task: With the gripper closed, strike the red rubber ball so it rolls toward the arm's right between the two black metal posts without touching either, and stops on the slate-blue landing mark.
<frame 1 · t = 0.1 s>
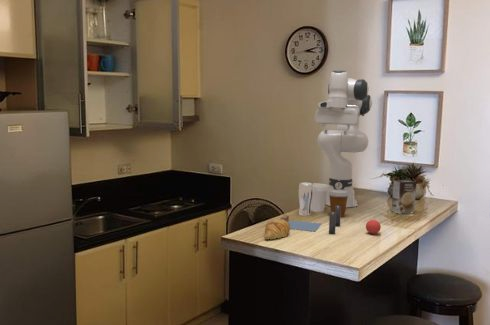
hand: (335, 134, 242), 39 cm above the worktop, tool pointing down, fingers open, 8 cm apart
foam cup: (317, 211, 255), on the worktop
post 2: (337, 225, 227), on the worktop
ball: (373, 226, 215), on the worktop
post 1: (331, 233, 214), on the worktop
coffee box: (402, 213, 255), on the worktop
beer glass: (305, 214, 247), on the worktop
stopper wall: (282, 223, 228), on the worktop
disposable coffee cup: (337, 216, 246), on the worktop
croissant: (276, 235, 211), on the worktop
landing mark: (302, 226, 225), on the worktop
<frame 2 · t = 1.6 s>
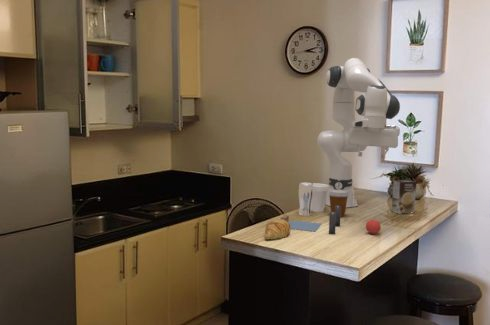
hand: (371, 157, 214), 32 cm above the worktop, tool pointing down, fingers open, 8 cm apart
nothing on the worktop moved.
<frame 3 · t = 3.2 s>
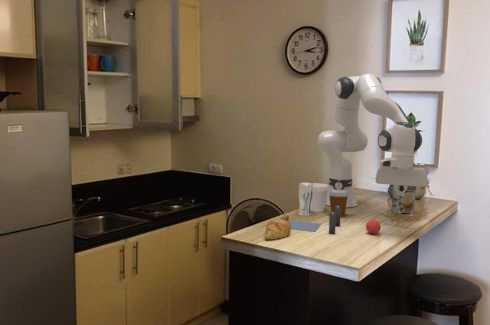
hand: (400, 196, 210), 17 cm above the worktop, tool pointing down, fingers closed
nothing on the worktop moved.
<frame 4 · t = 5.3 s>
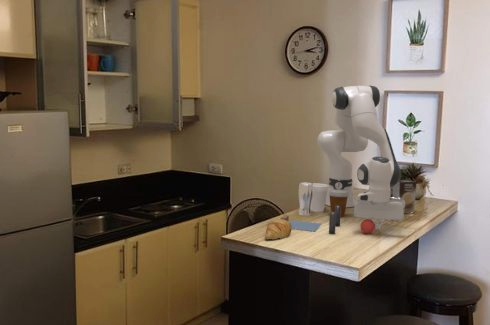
hand: (377, 229, 214), 2 cm above the worktop, tool pointing down, fingers closed
ball: (367, 226, 215), on the worktop, touching gripper
everything else where it was.
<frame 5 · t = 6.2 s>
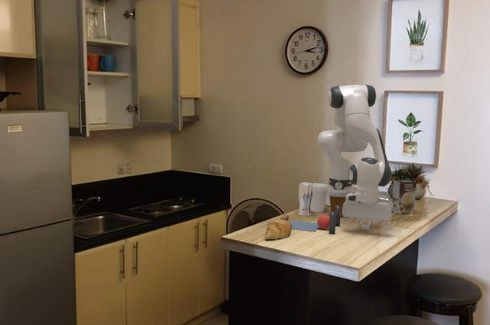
hand: (365, 229, 216), 2 cm above the worktop, tool pointing down, fingers closed
ball: (324, 222, 221), on the worktop
everything else where it was.
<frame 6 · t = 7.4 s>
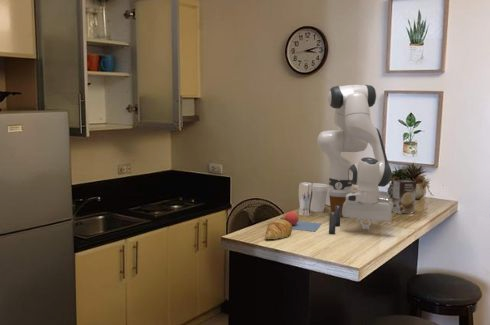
hand: (365, 229, 216), 2 cm above the worktop, tool pointing down, fingers closed
ball: (291, 218, 225), on the worktop
everything else where it was.
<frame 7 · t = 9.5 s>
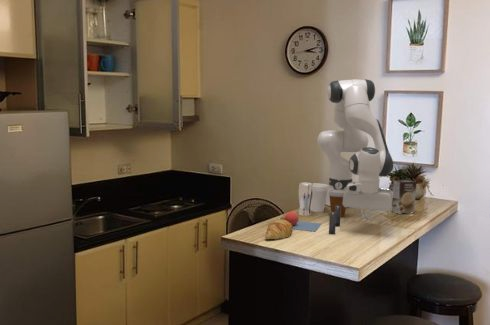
hand: (366, 219, 216), 6 cm above the worktop, tool pointing down, fingers closed
nothing on the worktop moved.
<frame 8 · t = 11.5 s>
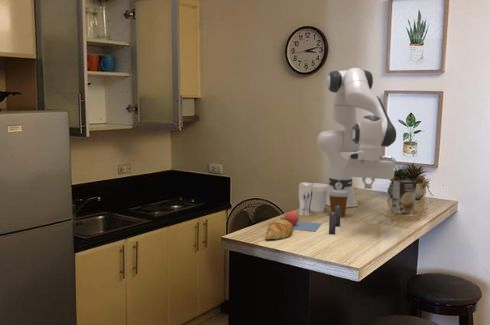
hand: (367, 188, 213), 19 cm above the worktop, tool pointing down, fingers closed
at the end: ball 4.9 cm from the landing mark (horizontally); ball never touched post 2; ball never touched post 1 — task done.
